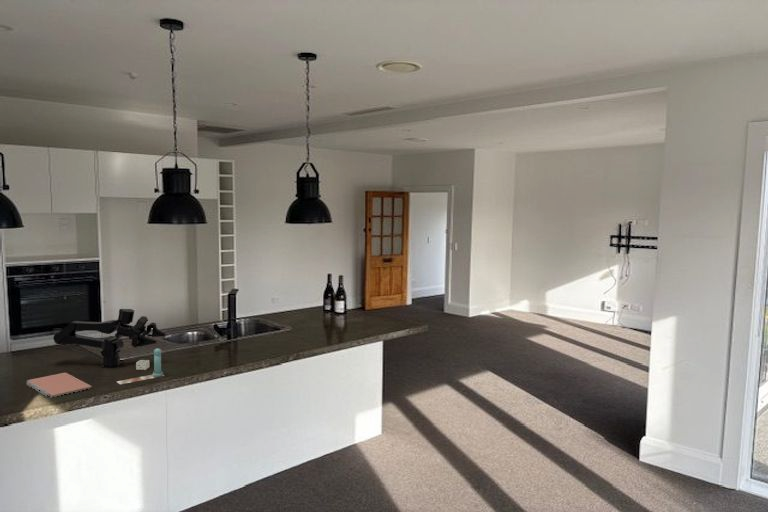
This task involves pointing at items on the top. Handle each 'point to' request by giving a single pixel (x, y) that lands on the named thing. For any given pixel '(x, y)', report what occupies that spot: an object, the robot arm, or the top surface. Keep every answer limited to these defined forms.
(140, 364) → the die
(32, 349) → the top surface
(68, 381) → the notebook
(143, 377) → the board
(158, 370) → the pawn
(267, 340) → the top surface
